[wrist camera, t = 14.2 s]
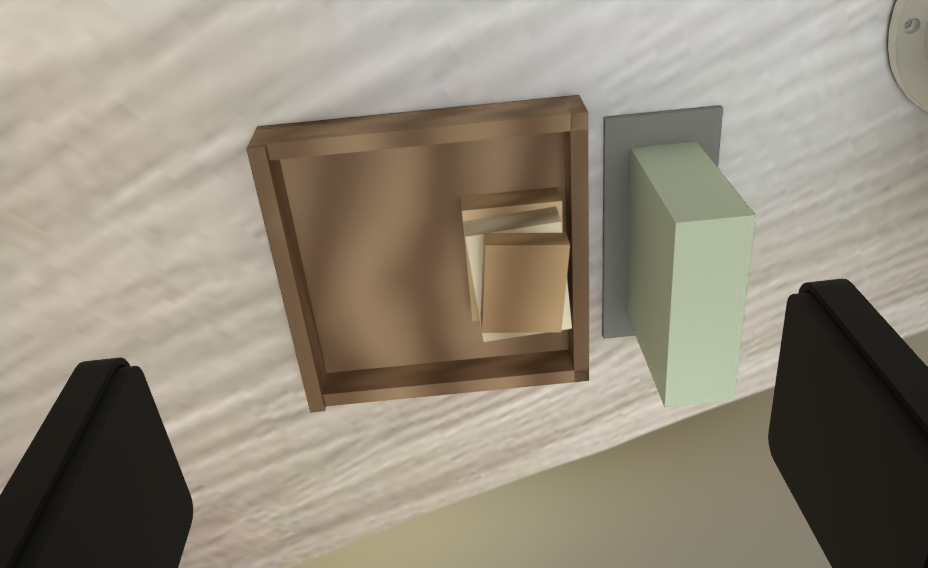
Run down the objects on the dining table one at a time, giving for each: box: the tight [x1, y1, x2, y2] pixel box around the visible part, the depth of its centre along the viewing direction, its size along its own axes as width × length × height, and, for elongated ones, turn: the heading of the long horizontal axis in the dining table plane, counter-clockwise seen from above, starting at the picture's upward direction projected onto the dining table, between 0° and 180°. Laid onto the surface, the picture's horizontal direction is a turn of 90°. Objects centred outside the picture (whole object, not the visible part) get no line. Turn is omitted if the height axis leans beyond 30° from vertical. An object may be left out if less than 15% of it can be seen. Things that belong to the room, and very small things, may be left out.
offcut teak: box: [481, 233, 570, 333], centre depth 47 cm, size 5×6×2 cm
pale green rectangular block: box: [626, 141, 756, 407], centre depth 47 cm, size 4×12×10 cm, turn 5°
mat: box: [602, 106, 723, 338], centre depth 52 cm, size 7×16×1 cm, turn 5°
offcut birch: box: [464, 207, 572, 342], centre depth 49 cm, size 6×8×2 cm
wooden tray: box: [247, 95, 589, 412], centre depth 50 cm, size 19×19×4 cm
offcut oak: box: [461, 187, 563, 321], centre depth 51 cm, size 6×8×2 cm
